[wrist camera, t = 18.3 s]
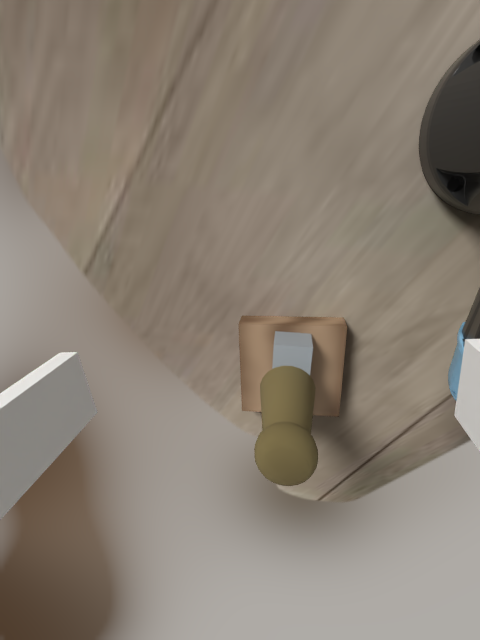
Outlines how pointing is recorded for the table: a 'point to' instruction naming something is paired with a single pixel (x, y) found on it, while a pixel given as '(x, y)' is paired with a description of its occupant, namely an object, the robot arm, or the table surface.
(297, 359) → the slate-grey block
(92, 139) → the table surface
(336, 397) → the wooden flat board
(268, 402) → the olive ball-ended rod
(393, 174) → the table surface
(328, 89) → the table surface
